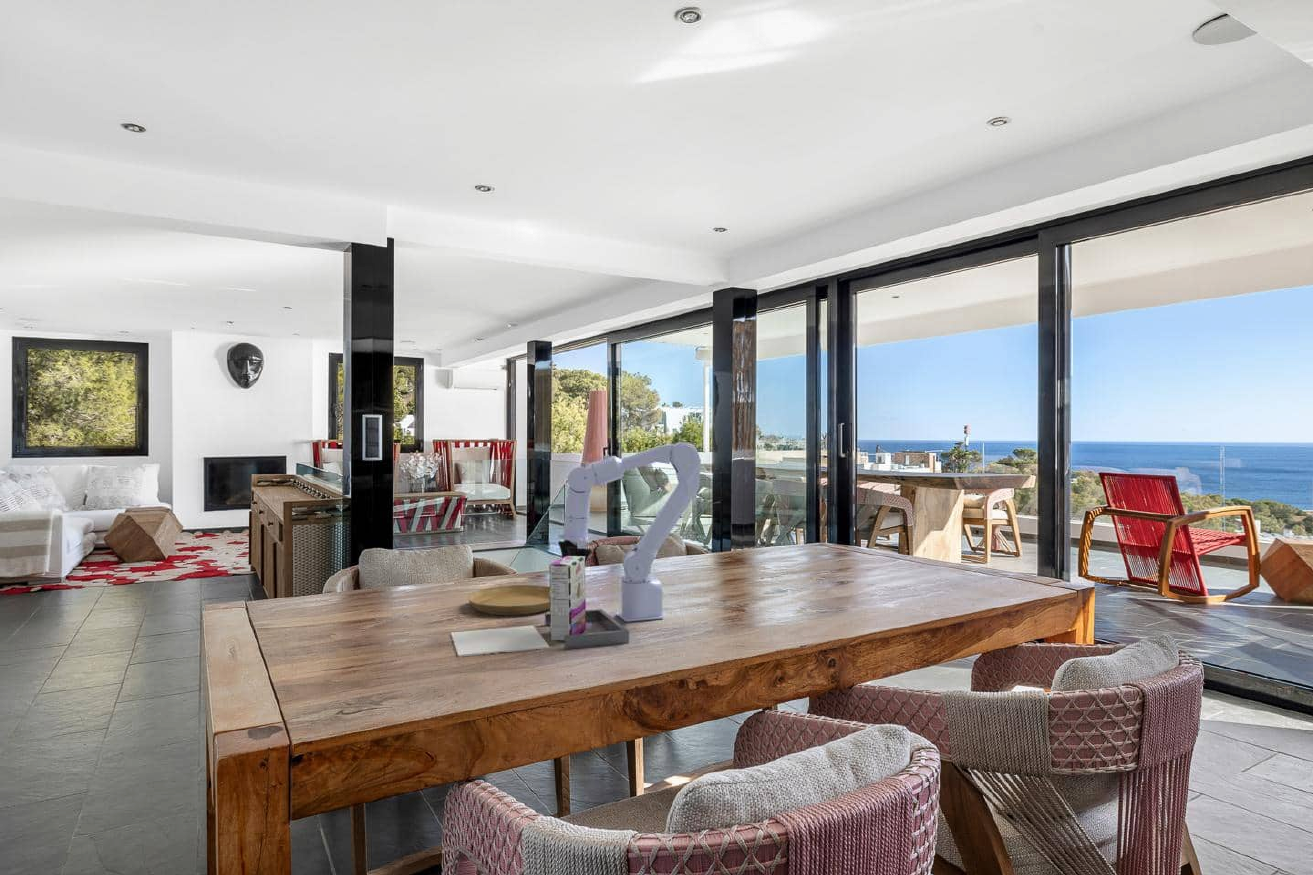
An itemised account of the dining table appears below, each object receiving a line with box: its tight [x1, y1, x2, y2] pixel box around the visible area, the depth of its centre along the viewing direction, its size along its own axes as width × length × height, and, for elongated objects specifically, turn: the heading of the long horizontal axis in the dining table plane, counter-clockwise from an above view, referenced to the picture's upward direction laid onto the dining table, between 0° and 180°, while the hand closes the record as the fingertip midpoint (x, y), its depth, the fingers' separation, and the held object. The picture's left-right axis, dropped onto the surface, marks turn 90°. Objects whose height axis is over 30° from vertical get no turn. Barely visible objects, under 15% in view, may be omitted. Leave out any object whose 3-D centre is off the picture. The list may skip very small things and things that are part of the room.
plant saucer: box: [467, 584, 550, 616], centre depth 192 cm, size 24×24×3 cm
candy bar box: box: [548, 556, 587, 642], centre depth 164 cm, size 11×5×16 cm, turn 168°
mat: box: [450, 625, 550, 658], centre depth 159 cm, size 18×18×1 cm
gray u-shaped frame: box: [544, 608, 630, 650], centre depth 165 cm, size 14×21×2 cm, turn 20°
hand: (572, 574), depth 178 cm, fingers open, 7 cm apart
